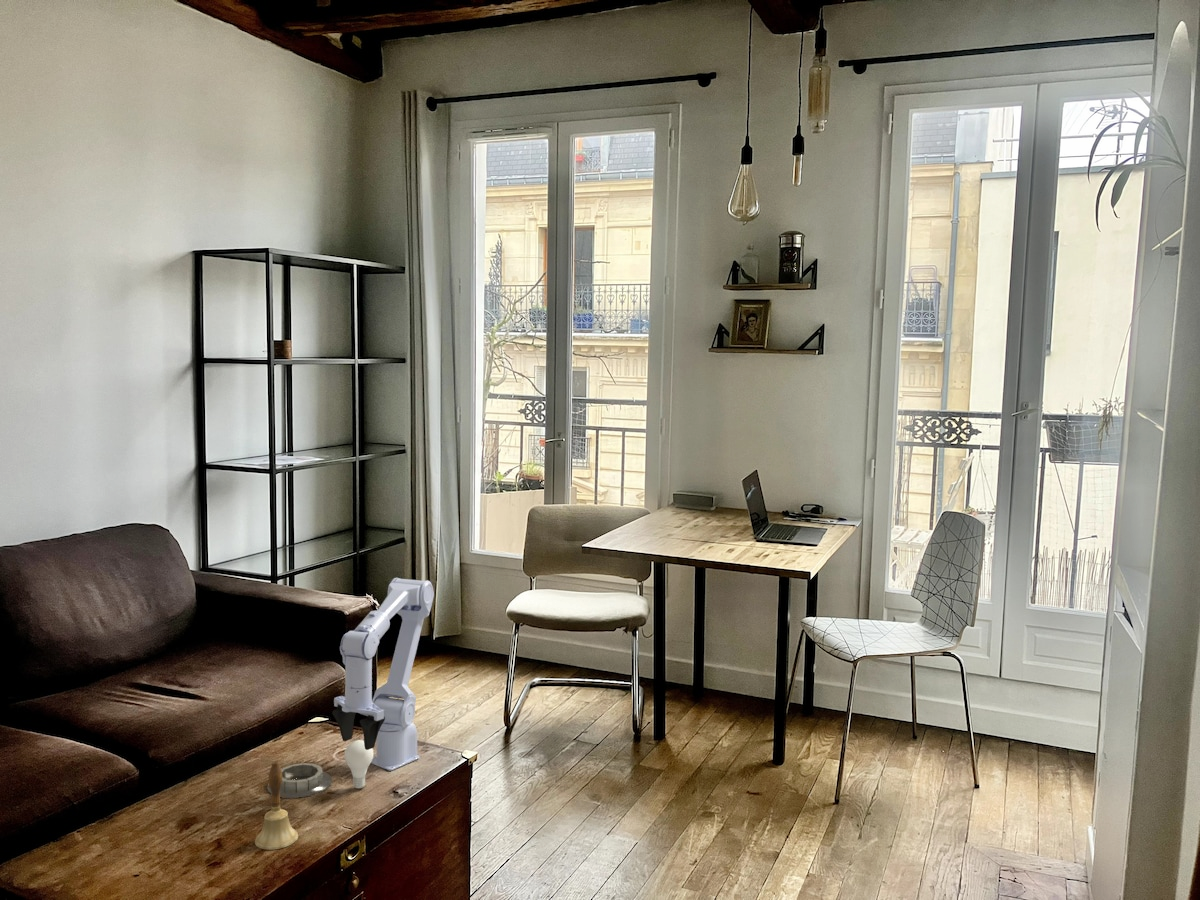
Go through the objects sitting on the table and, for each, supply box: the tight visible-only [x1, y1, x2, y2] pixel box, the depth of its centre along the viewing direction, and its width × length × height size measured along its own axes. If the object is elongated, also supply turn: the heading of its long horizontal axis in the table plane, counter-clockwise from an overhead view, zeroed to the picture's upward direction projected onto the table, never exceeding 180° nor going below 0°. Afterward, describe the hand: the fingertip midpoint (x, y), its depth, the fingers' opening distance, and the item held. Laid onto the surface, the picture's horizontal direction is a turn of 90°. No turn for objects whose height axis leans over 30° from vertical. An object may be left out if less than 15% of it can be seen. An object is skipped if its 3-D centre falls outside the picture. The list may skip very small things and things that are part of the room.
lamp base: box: [266, 762, 333, 799], centre depth 212 cm, size 14×14×3 cm
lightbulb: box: [343, 739, 375, 790], centre depth 210 cm, size 6×6×11 cm
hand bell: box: [254, 760, 299, 851], centre depth 187 cm, size 8×8×16 cm
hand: (358, 744), depth 210 cm, fingers open, 7 cm apart
